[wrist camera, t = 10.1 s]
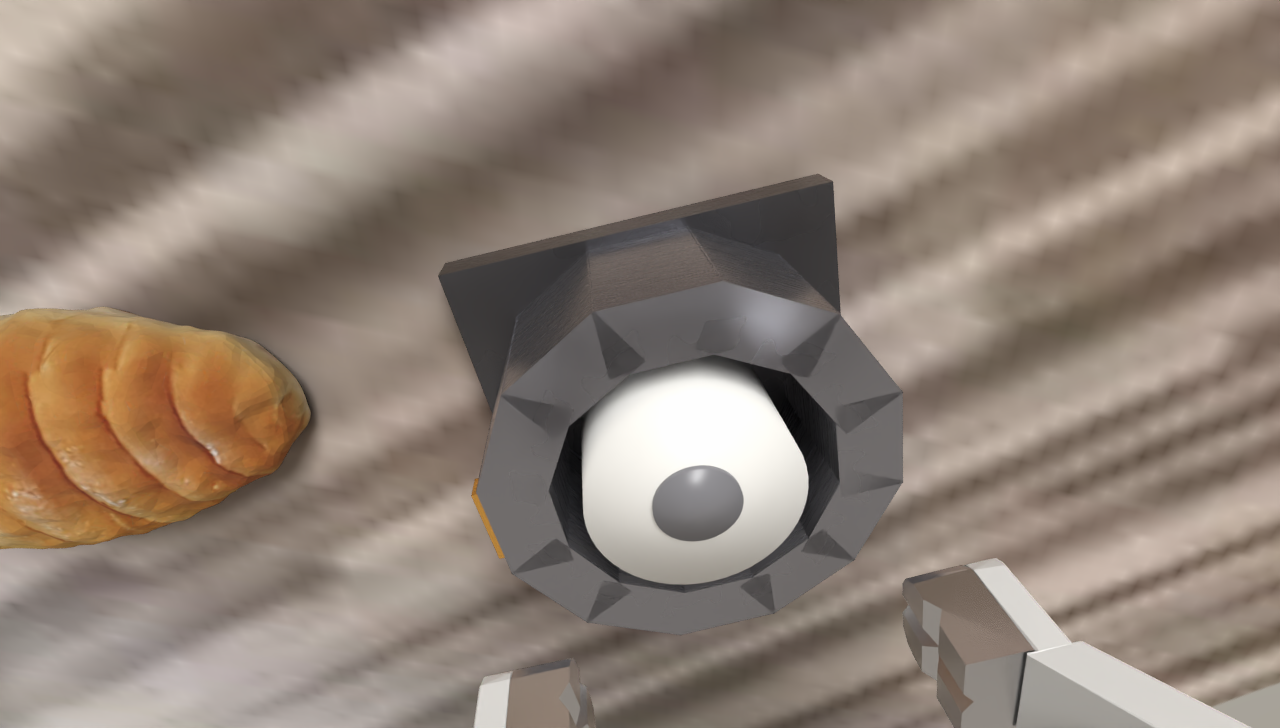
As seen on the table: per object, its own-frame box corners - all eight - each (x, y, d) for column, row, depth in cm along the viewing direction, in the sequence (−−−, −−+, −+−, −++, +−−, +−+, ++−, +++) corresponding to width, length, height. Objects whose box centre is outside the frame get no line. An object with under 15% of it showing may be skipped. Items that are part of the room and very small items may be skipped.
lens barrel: (818, 173, 16) (914, 222, 11) (838, 471, 20) (912, 587, 16) (445, 263, 16) (397, 345, 11) (551, 538, 20) (546, 673, 16)
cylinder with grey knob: (743, 298, 16) (803, 384, 12) (762, 448, 18) (816, 562, 14) (559, 340, 16) (556, 439, 12) (601, 484, 18) (610, 609, 14)
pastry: (263, 260, 16) (179, 320, 12) (353, 466, 19) (307, 559, 15) (-114, 315, 15) (-306, 392, 12) (44, 515, 18) (-72, 621, 15)
